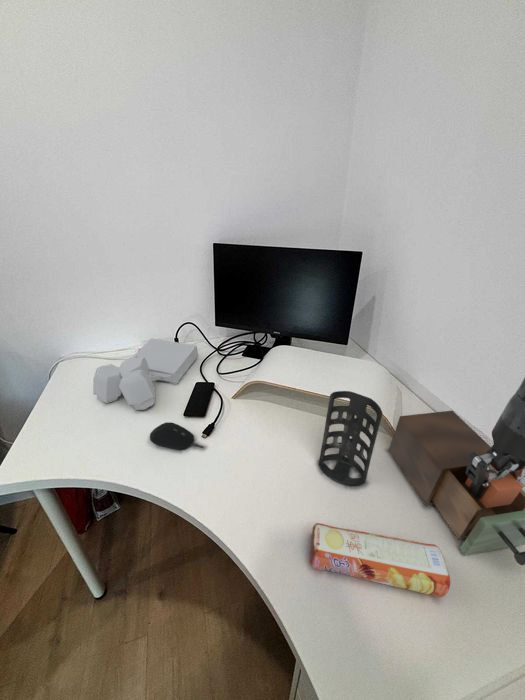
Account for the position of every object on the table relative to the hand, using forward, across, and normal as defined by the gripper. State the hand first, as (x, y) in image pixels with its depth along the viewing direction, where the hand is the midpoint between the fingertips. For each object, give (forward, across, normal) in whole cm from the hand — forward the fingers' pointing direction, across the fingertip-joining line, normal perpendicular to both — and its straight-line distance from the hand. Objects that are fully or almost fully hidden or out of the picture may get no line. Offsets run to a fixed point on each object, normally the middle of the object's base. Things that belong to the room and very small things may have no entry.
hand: (488, 492), depth 54 cm
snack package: (+10, -23, -5) cm, 26 cm away
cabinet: (+9, 0, +12) cm, 15 cm away
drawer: (+8, 0, -1) cm, 9 cm away
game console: (+10, -70, +59) cm, 92 cm away
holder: (+10, -20, +16) cm, 28 cm away
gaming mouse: (+10, -59, +30) cm, 67 cm away
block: (0, 0, 0) cm, 0 cm away
